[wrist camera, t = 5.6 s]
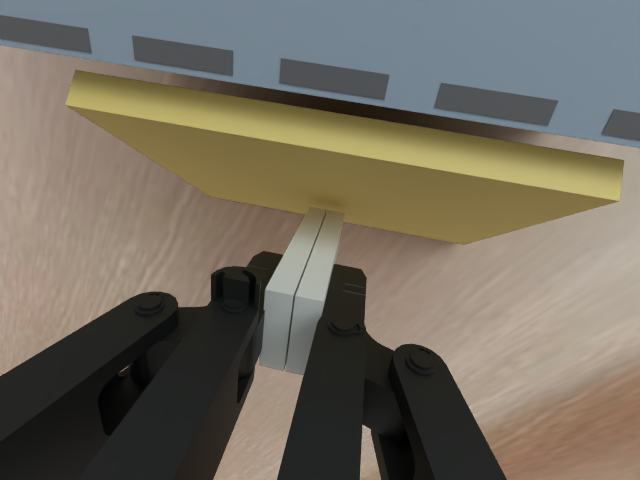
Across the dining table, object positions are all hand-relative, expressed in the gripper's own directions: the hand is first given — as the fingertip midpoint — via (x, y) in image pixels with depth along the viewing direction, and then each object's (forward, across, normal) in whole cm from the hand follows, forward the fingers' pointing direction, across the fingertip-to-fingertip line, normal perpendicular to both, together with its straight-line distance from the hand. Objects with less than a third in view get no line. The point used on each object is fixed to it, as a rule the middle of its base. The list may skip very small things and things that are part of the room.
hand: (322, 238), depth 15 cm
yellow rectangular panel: (0, 0, +3) cm, 3 cm away
